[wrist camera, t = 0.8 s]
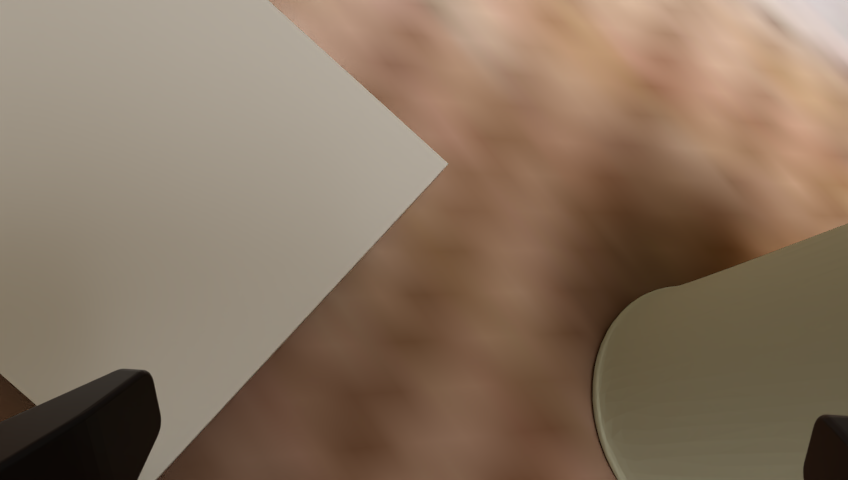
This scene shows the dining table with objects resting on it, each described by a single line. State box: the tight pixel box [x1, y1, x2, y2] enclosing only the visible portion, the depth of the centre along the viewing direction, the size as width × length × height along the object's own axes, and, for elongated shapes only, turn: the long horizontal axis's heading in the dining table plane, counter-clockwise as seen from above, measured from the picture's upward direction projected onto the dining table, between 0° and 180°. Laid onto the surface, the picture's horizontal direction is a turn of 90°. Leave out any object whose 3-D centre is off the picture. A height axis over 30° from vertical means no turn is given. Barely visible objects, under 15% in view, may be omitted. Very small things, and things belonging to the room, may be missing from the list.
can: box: [593, 224, 848, 480], centre depth 19 cm, size 9×9×12 cm
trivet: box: [0, 0, 448, 480], centre depth 21 cm, size 14×14×1 cm
